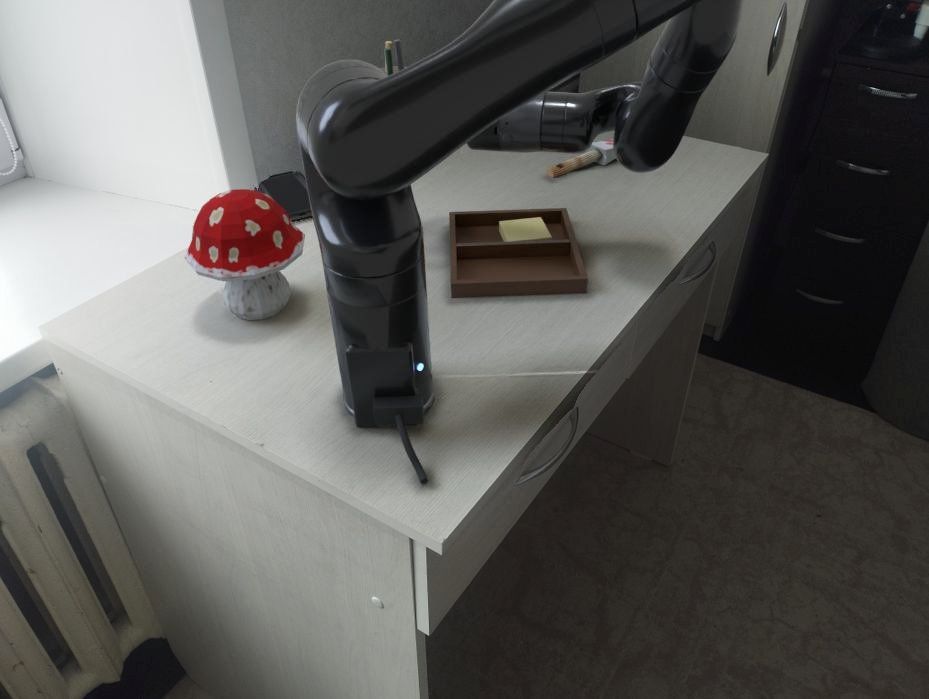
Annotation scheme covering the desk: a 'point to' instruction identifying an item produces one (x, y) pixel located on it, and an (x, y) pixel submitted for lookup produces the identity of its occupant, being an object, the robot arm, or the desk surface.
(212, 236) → the decorative mushroom
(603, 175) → the desk surface
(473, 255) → the divider
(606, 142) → the wrapped churro
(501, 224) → the note pad
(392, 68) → the pencil cup
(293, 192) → the phone
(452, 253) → the tray
